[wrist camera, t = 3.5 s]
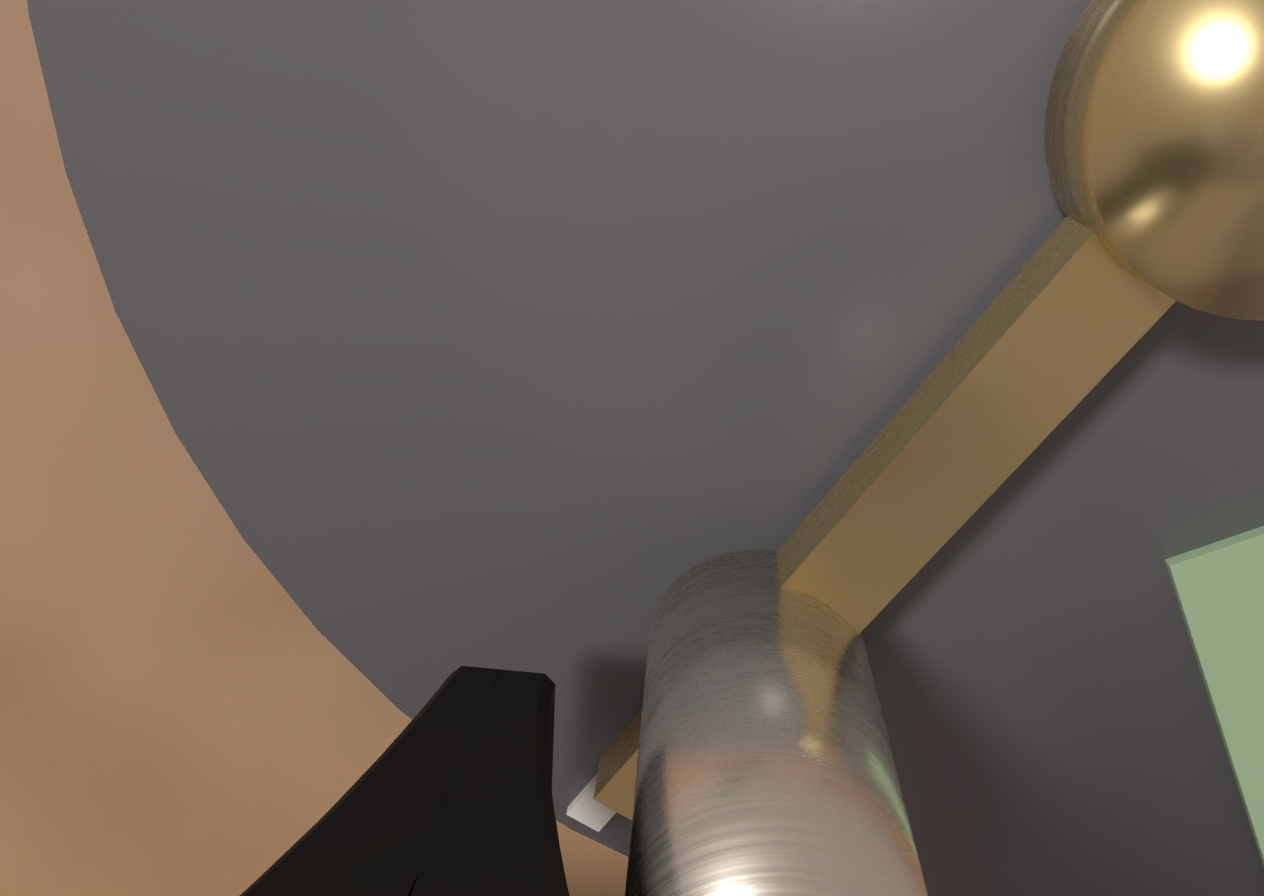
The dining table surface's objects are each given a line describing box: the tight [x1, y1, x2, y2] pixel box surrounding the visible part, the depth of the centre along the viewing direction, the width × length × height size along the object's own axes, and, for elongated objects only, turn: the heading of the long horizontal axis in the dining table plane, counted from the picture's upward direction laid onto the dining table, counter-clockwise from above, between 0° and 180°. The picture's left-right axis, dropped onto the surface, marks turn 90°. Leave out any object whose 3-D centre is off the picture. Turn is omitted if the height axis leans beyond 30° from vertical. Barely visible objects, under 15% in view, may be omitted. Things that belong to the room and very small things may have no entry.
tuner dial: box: [27, 0, 1264, 896], centre depth 9 cm, size 22×22×2 cm
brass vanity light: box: [594, 0, 1264, 896], centre depth 8 cm, size 11×3×5 cm, turn 146°
